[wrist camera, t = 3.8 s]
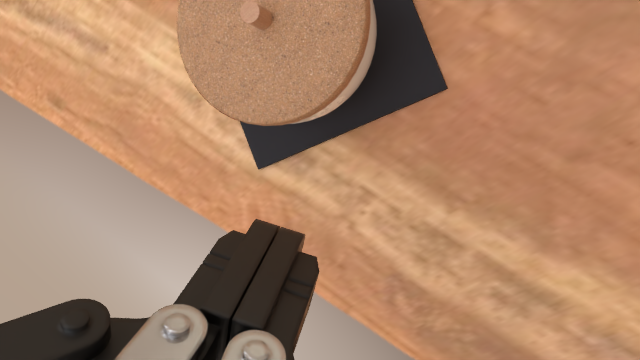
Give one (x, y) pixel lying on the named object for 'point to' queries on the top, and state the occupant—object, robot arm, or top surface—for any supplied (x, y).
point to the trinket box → (276, 55)
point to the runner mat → (364, 87)
